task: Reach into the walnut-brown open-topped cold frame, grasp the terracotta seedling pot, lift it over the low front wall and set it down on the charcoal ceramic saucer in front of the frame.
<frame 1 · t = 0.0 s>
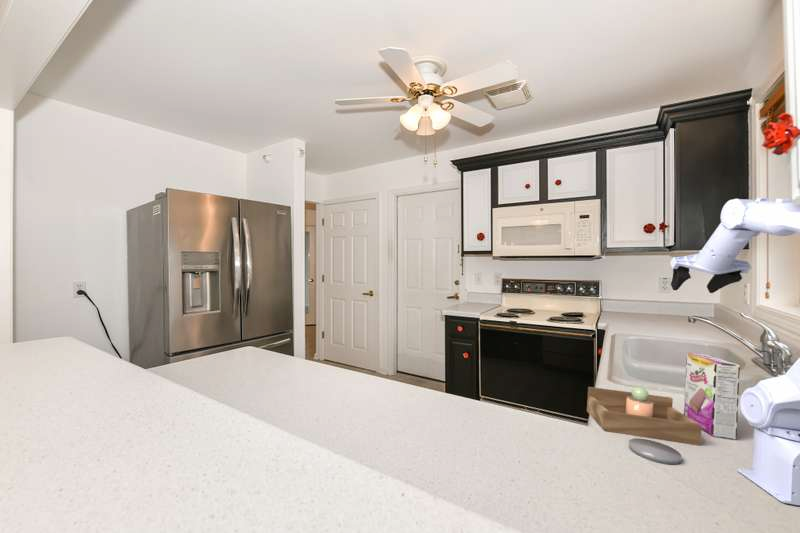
hand: (691, 288, 86), 32 cm above the worktop, tool tilted 50°, fingers open, 7 cm apart
candy bar box: (707, 429, 82), on the worktop
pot: (638, 426, 80), resting in cold frame
saucer: (654, 453, 67), on the worktop
cold frame: (638, 426, 80), on the worktop
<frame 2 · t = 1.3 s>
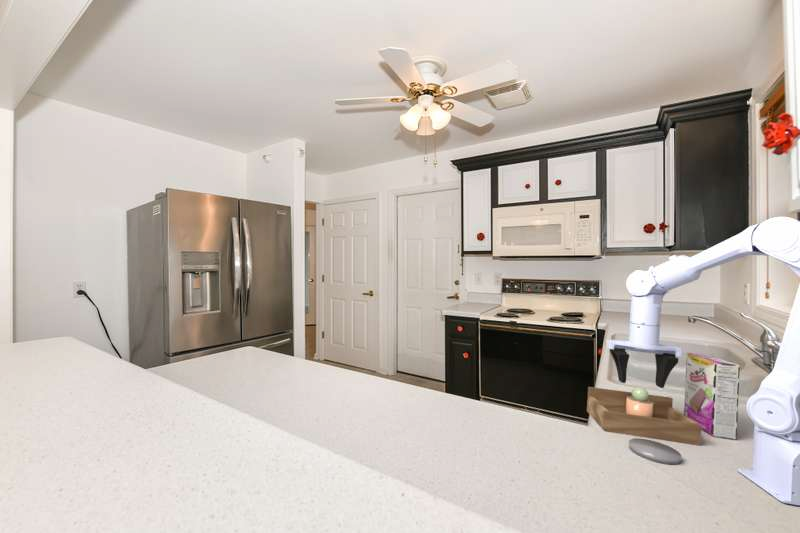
hand: (640, 384, 80), 10 cm above the worktop, tool pointing down, fingers open, 7 cm apart
nothing on the worktop moved.
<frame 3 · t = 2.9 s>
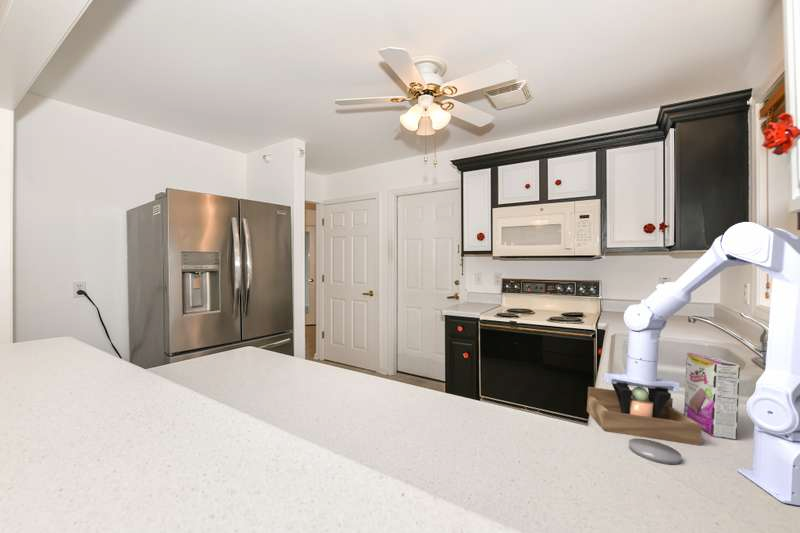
hand: (638, 419, 80), 2 cm above the worktop, tool pointing down, fingers closed on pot, 5 cm apart
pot: (638, 426, 80), resting in cold frame, touching gripper
everything else where it was.
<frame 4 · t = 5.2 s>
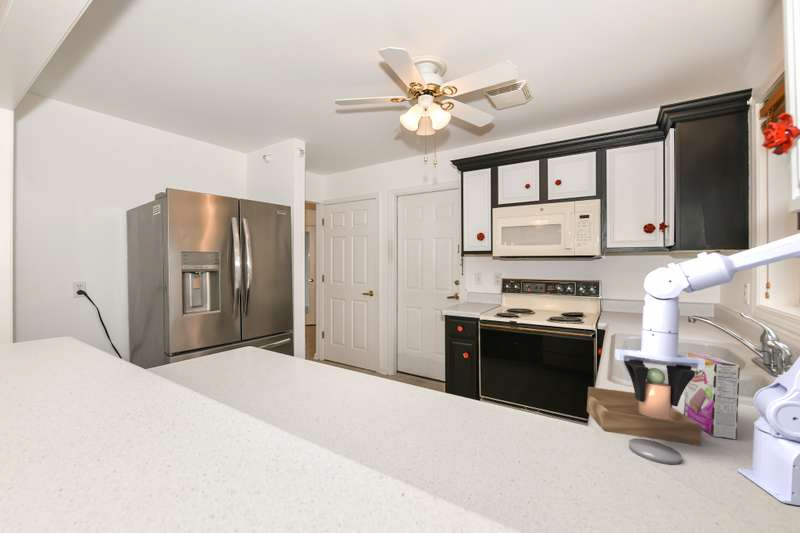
hand: (656, 402, 68), 9 cm above the worktop, tool pointing down, fingers closed on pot, 5 cm apart
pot: (653, 414, 68), point 7 cm above the worktop, touching gripper
everything else where it was.
when the fingers open (4 cm above the worktop, at t = 7.2 s): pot stays where it is, resting on saucer.
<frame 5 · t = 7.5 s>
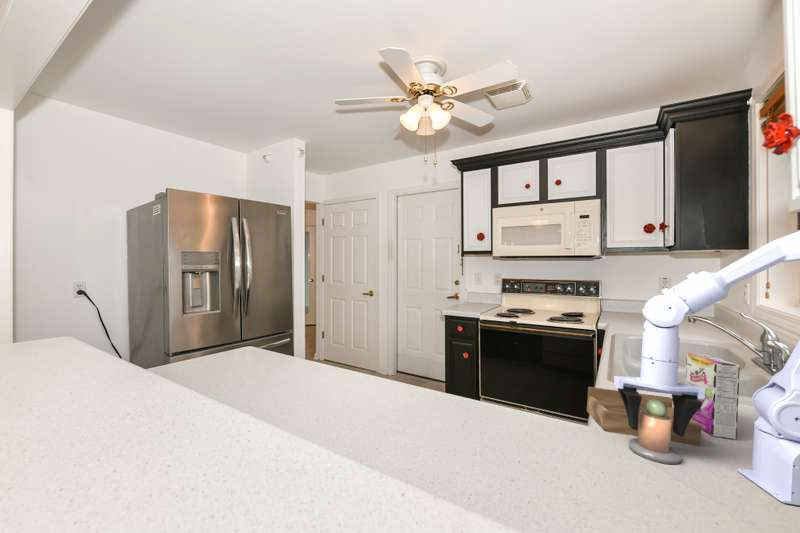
hand: (655, 431, 67), 4 cm above the worktop, tool pointing down, fingers open, 7 cm apart
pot: (653, 446, 68), point 1 cm above the worktop, touching saucer
everything else where it was.
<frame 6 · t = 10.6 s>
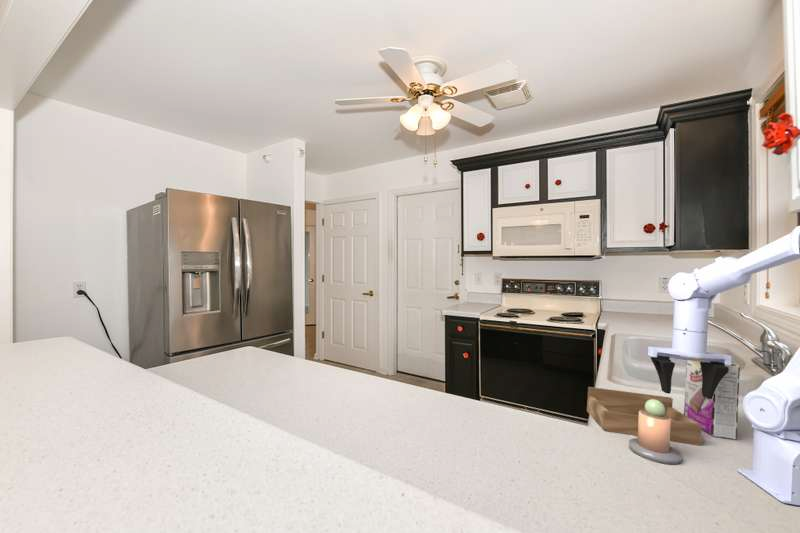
hand: (686, 394, 75), 9 cm above the worktop, tool pointing down, fingers open, 7 cm apart
nothing on the worktop moved.
at the end: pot 0.5 cm off-centre on the saucer, point 1.0 cm above the saucer's base; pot tilted 1°; the gripper is holding nothing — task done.
